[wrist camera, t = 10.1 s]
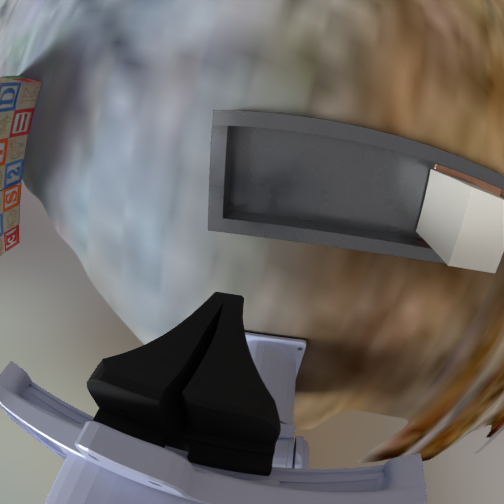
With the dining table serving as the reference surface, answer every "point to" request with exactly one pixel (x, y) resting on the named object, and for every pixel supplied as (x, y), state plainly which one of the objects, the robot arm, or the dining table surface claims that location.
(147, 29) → the dining table surface
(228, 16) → the dining table surface
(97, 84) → the dining table surface
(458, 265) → the block
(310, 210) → the gray rectangular tray
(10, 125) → the stack of blocks
